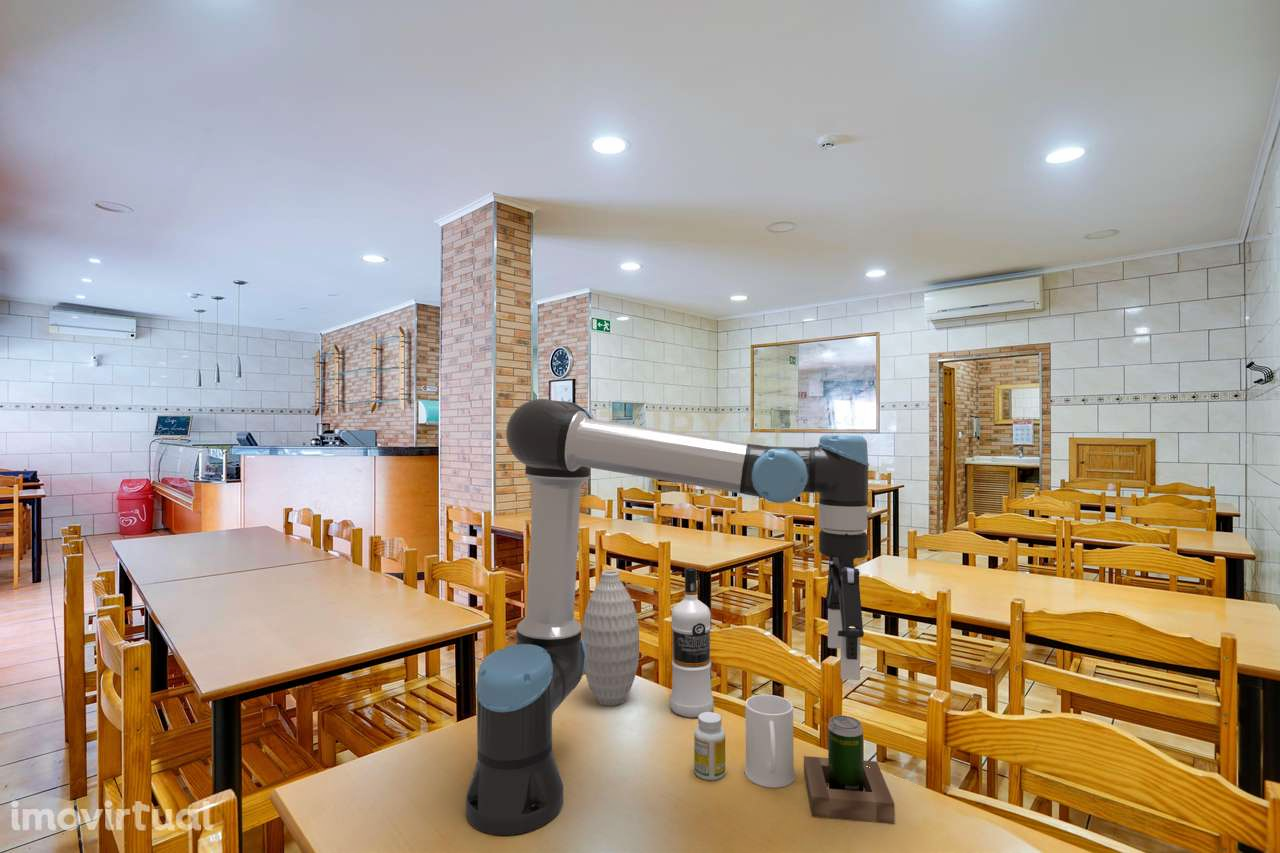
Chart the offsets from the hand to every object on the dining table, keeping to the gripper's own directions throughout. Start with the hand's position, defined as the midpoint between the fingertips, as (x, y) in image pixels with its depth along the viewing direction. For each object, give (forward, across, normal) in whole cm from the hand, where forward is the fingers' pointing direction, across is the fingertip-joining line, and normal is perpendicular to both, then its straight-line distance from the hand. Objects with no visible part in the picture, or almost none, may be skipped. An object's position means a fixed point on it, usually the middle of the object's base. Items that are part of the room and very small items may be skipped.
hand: (842, 662), depth 99 cm
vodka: (+22, +28, +26) cm, 44 cm away
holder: (+22, 0, -1) cm, 22 cm away
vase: (+22, +30, +44) cm, 58 cm away
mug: (+22, +3, +11) cm, 25 cm away
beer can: (+22, 0, -1) cm, 22 cm away
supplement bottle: (+22, +4, +21) cm, 31 cm away
